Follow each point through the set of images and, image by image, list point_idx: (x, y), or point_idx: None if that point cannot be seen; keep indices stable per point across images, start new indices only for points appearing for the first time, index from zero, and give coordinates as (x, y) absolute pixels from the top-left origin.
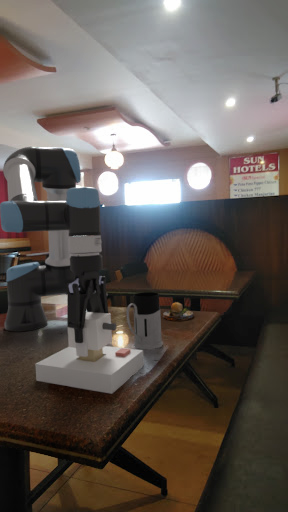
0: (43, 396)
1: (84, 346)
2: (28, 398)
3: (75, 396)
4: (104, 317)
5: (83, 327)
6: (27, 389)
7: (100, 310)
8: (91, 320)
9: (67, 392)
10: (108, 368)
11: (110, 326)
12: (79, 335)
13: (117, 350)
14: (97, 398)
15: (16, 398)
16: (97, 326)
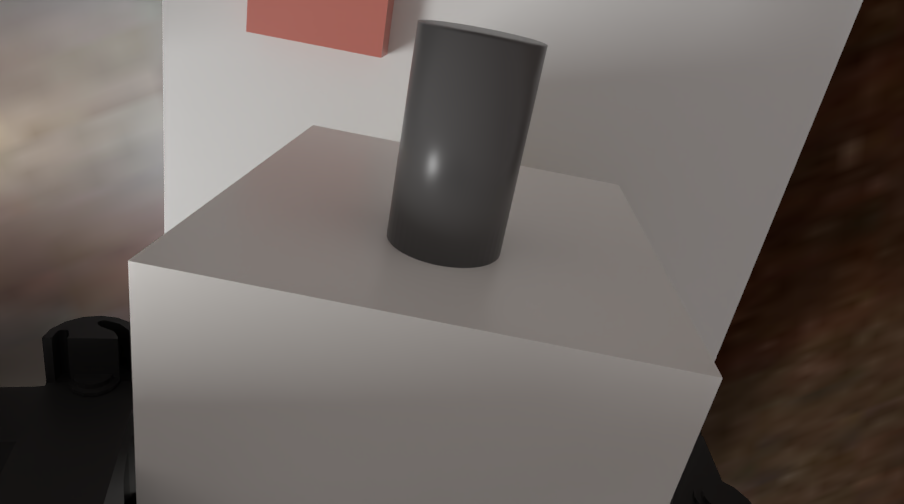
0: (823, 372)
1: None
2: (844, 435)
3: (836, 189)
4: (396, 302)
5: (694, 484)
6: None
7: (104, 496)
8: (684, 457)
9: (773, 261)
10: (722, 10)
11: (534, 102)
12: (704, 450)
13: (244, 83)
14: (881, 24)
15: (839, 488)
16: (661, 302)
